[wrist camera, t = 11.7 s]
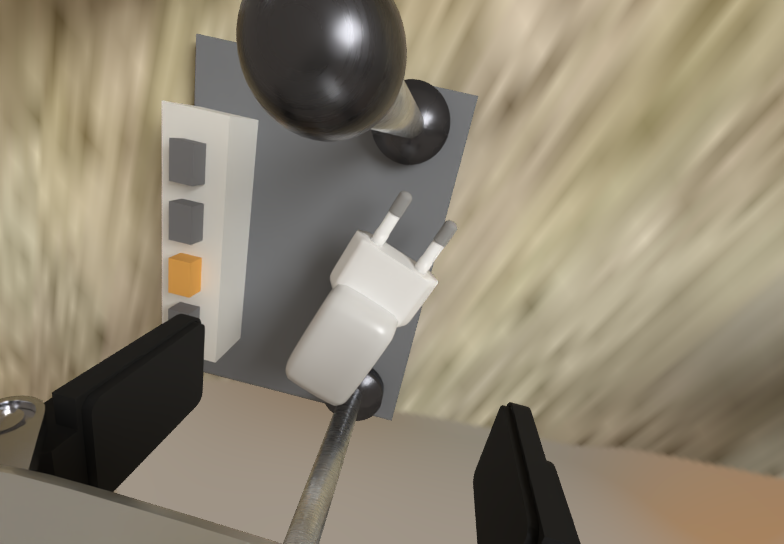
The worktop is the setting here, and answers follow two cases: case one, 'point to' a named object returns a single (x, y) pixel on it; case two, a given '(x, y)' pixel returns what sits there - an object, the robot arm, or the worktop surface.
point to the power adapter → (363, 309)
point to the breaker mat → (280, 221)
